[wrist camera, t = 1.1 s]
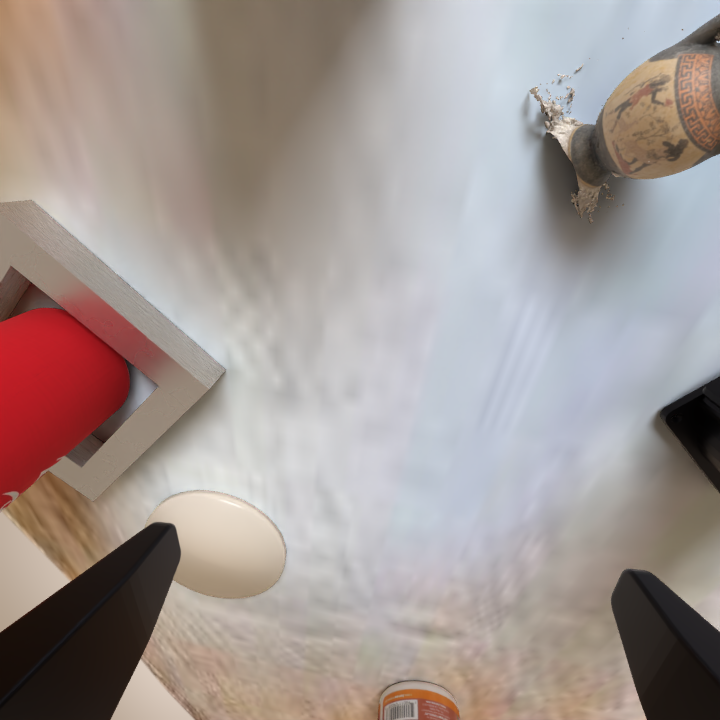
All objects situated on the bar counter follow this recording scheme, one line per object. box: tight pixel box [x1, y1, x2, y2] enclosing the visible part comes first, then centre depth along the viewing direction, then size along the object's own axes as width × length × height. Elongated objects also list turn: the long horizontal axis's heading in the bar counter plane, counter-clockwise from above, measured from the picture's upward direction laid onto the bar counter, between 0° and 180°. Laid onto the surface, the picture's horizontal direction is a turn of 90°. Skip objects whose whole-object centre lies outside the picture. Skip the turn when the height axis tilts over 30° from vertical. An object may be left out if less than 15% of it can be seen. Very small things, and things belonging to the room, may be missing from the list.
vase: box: [530, 14, 720, 223], centre depth 12 cm, size 5×5×6 cm
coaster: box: [145, 490, 286, 598], centre depth 26 cm, size 9×9×1 cm
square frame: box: [0, 200, 226, 501], centre depth 20 cm, size 11×11×2 cm
